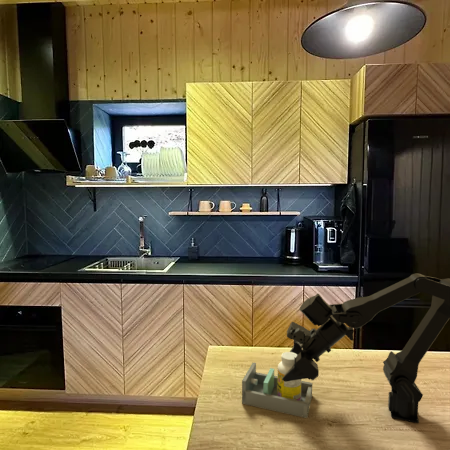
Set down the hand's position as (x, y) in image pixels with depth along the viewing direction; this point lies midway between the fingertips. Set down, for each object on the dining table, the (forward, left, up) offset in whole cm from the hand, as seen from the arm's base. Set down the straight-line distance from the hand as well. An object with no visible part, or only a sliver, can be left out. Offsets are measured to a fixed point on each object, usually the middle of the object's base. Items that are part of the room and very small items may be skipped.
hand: (283, 371), depth 99 cm
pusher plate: (+4, 0, -8) cm, 9 cm away
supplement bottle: (-2, 0, -8) cm, 8 cm away
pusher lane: (+2, 0, -9) cm, 9 cm away
